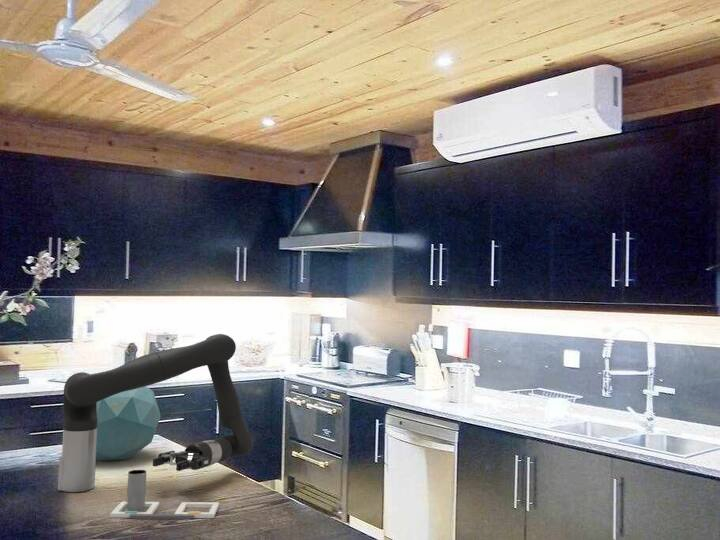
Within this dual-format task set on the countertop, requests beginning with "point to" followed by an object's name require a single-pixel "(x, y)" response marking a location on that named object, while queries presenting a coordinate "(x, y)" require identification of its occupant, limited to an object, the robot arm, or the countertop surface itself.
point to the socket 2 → (198, 514)
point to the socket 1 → (119, 514)
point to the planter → (136, 490)
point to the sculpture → (126, 423)
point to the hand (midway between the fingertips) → (165, 464)
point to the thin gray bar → (161, 517)
